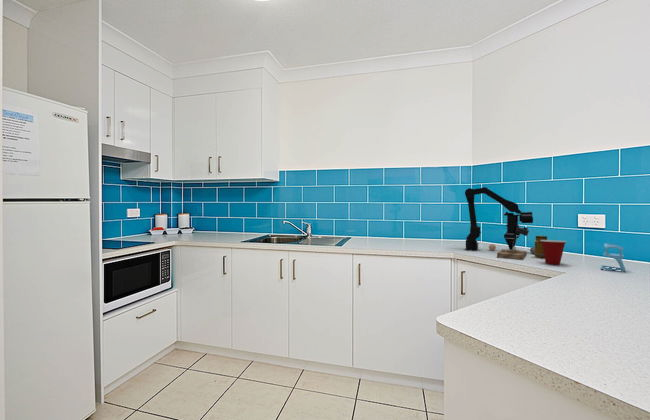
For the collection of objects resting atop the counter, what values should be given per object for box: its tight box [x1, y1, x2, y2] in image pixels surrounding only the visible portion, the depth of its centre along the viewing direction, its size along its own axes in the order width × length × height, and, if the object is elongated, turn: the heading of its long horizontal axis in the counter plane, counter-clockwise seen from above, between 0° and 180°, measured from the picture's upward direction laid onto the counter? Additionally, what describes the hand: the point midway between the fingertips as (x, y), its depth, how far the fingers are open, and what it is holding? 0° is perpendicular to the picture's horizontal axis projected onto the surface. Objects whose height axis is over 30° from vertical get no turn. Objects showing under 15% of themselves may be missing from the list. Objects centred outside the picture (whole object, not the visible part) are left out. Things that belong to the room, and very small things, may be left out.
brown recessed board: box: [496, 248, 527, 261], centre depth 173 cm, size 12×16×2 cm
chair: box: [600, 242, 627, 272], centre depth 138 cm, size 8×8×12 cm
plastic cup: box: [540, 239, 567, 266], centre depth 153 cm, size 11×11×12 cm
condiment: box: [532, 235, 548, 260], centre depth 168 cm, size 7×8×12 cm
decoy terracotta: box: [488, 243, 497, 251], centre depth 193 cm, size 4×4×4 cm
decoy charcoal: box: [529, 246, 535, 255], centre depth 179 cm, size 4×4×4 cm
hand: (512, 248), depth 186 cm, fingers open, 9 cm apart
